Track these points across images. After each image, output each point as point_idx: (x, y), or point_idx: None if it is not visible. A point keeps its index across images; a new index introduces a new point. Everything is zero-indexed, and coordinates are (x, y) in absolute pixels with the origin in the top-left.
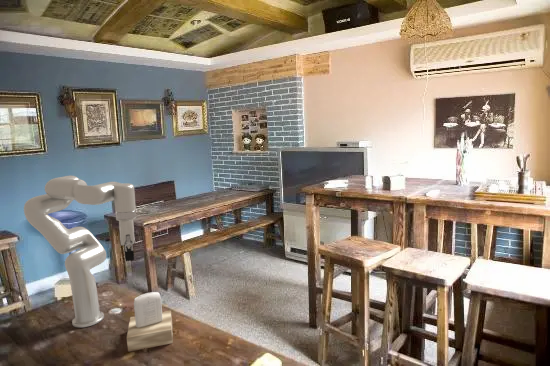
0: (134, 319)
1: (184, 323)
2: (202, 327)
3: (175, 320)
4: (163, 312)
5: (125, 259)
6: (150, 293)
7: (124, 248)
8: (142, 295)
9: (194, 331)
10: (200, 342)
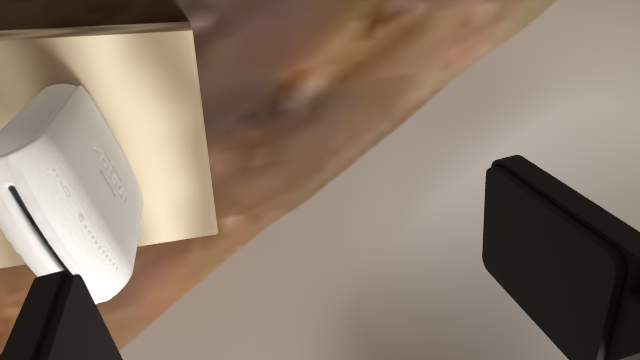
0: (157, 59)
1: (190, 253)
2: (137, 322)
3: (228, 214)
4: (202, 203)
5: (31, 292)
6: (66, 266)
7: (545, 200)
8: (32, 217)
9: (109, 299)
10: (10, 332)
